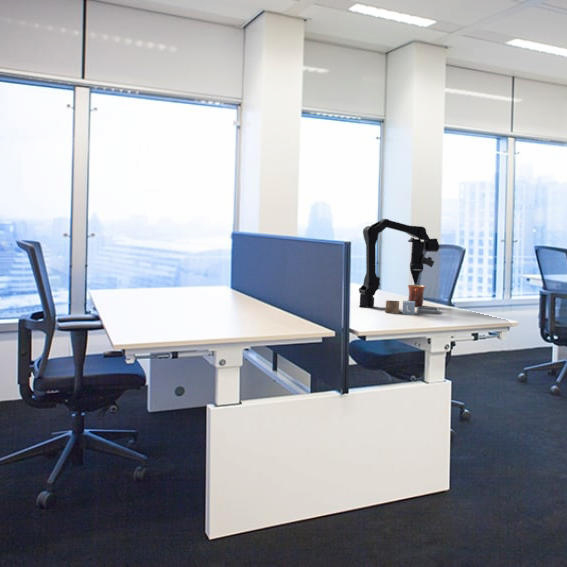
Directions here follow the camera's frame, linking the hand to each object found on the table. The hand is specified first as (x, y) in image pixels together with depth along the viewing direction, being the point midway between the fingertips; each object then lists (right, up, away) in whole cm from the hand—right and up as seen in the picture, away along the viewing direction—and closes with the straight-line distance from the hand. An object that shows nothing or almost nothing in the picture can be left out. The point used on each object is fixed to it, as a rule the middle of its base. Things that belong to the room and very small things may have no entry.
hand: (415, 282), depth 297 cm
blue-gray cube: (-8, -14, -20) cm, 26 cm away
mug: (+1, -12, +3) cm, 13 cm away
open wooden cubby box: (-15, -14, -19) cm, 28 cm away
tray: (+3, -14, -15) cm, 20 cm away
